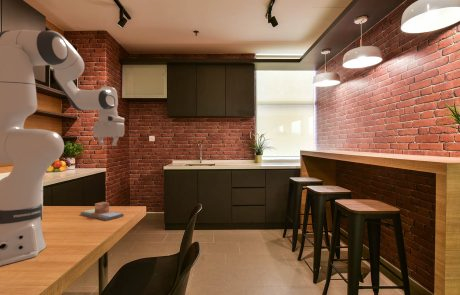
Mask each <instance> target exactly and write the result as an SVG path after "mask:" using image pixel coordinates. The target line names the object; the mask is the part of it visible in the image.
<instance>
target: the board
mask: <svg viewBox="0 0 460 295" xmlns="http://www.w3.org/2000/svg"><path fill="white" fill-rule="evenodd" d="M80 215H81V216H85V217H88V218H94V219H99V220H103V221H106V222H107V221H110V220H114V219H118V218H122V217H124V213H122V212H117V211H116V212H115V211H111V210H109V212H107V213H103V214H98V213H95V208H92V209H91V208H90V209H86V210H82V211H81V212H80Z"/></svg>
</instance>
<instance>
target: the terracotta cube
mask: <svg viewBox="0 0 460 295" xmlns="http://www.w3.org/2000/svg"><path fill="white" fill-rule="evenodd" d="M94 209H95V213H98V214H103V213H107V212H109V211H110V203H109V202H106V201H101V202H97V203H94Z"/></svg>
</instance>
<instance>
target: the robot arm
mask: <svg viewBox="0 0 460 295" xmlns="http://www.w3.org/2000/svg"><path fill="white" fill-rule="evenodd" d="M36 66H37V67H39V66H50V67H51V68H52V69H53V70H52V75H53V76H52V77H53V79H54V80H55V82H56V84H57V85H58V86H59V88H60V89H61V91H62V92H63V93H64V95H65V96H66V98H67V99H68V102H69V103H70V105H71V107H72V108H73V109H74V110H76V111H78V112H82V111H83V112H85V111H98V119H97V120H96V121H95V122H94V124H93V128H92V129H93V130H92V135H93V137H94V138H97V140H98V142H99V146H100V147H104V146H105V142H104V138H112V139H113V140H112V142H111V146H112V147H116V146H117V145H118V144H117V143H118V141H119V138H122V137H124V135H125V120H126V119H125V117H122V116H119V112H118V106H119V100H118V98H119V97H118V92H117V89H116V88H115V87H112V86H109V85H103V86H101V87H100V88H98V89H81V88H78V87H77V86H76V84H75V82H74V81H75V80H77V79H79V78H80V77H81V76H82V75H83V73H84V71H85V62H84V59H83V57H82V56H81V55H80V54H79V53H78V51H77V49H75V47H74V46H73V45H72V43H70V41H68V40H67V39H66V38H65V36H63V35H62V34H61V33H59V32H57V31H55V30H34V29H33V30H32V29H31V30H30V29H16V30H3V31H0V164H13V166H12V168H11V171H10V173H9V174H8V175H7V176H5V177H3V178H1V179H0V267H1V266H4V265H7V264H12V263H16V262H20V261H24V260H28V259H31V258H35V257H37V256H38V254H39V253H40V252H41V251H43V250H44V249H45V248H46V247H47V244H46V241H45V238H44V235H43V233H44V232H43V228H42V221H43V217H42V204H41V186H42V180H43V181H44V177H45V174H46V172H47V171H48V169H49V168H50V167H51V165H52V164H53V163H55V162H56V161H57V160H59V159H60V158H61V157H62V155H63V154H64V150H65V143H64V140H63V137H62V136H61V135H60V134H59V133H58V132H56V131H51V130H49V129H42V128H24V126H25V122H26V119H27V118H28V117H29V116H31V115H33V114H34V113H36V111H37V109H38V97H37V96H38V95H37V88H36V85H37V84H36V79H35V73H34V68H33V67H36Z"/></svg>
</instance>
